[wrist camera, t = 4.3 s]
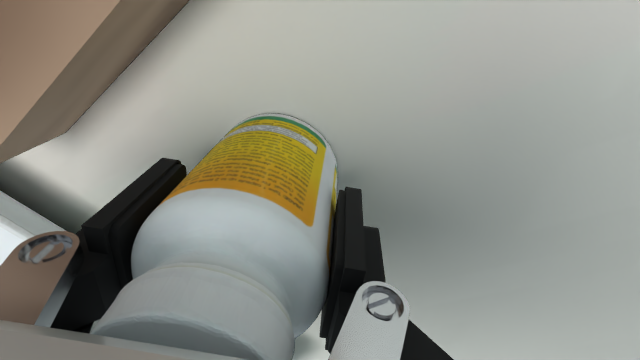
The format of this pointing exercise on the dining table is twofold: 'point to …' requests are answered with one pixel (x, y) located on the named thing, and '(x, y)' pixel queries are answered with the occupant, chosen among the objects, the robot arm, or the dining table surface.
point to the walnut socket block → (66, 60)
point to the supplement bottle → (236, 247)
